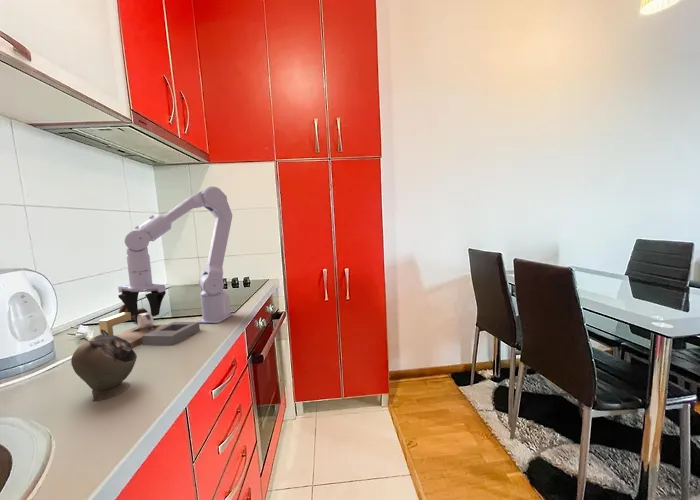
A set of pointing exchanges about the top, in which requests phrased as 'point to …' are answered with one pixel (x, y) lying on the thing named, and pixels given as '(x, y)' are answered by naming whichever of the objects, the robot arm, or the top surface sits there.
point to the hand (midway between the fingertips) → (144, 315)
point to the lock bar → (113, 322)
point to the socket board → (135, 335)
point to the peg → (145, 322)
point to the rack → (171, 333)
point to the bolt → (140, 311)
